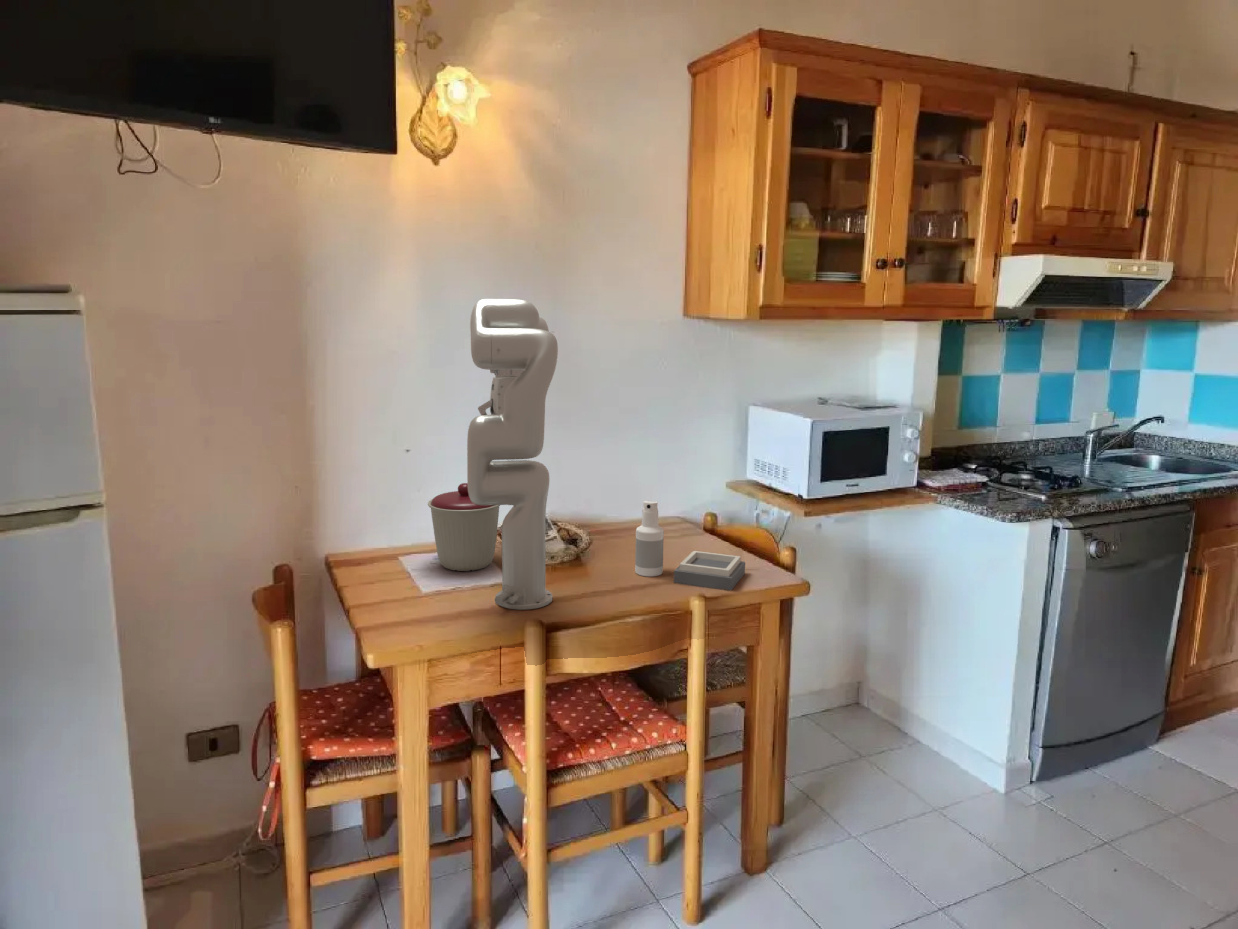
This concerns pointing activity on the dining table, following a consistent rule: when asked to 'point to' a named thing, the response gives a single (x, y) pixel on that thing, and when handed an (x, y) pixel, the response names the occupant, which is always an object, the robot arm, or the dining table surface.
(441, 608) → the dining table surface
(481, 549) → the canister
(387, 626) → the dining table surface
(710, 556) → the stand
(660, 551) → the spray bottle
